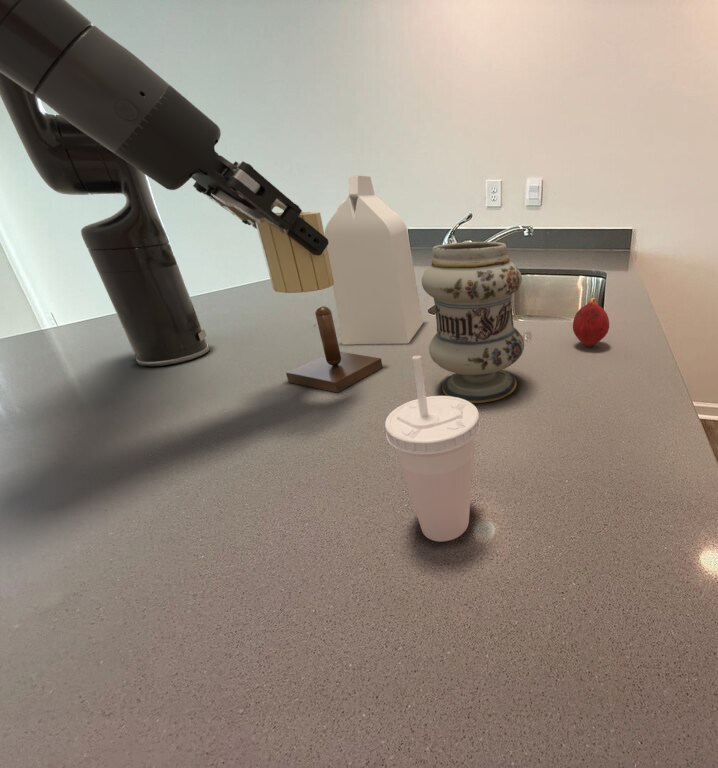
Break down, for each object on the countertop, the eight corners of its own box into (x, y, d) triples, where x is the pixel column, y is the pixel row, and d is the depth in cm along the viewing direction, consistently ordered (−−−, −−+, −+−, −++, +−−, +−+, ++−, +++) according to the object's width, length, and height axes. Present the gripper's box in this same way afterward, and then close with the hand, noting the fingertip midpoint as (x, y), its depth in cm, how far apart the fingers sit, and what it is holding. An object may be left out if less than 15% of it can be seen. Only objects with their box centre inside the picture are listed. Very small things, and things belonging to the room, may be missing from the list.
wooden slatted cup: (261, 290, 46) (239, 214, 43) (306, 279, 52) (291, 211, 48) (301, 295, 44) (282, 215, 41) (345, 283, 49) (331, 211, 46)
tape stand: (288, 382, 56) (268, 312, 52) (337, 359, 64) (323, 296, 60) (337, 392, 53) (320, 318, 49) (382, 367, 61) (371, 301, 56)
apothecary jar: (474, 362, 62) (465, 237, 54) (541, 380, 55) (543, 241, 48) (414, 392, 53) (394, 247, 45) (486, 417, 46) (477, 254, 39)
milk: (408, 343, 70) (385, 174, 59) (342, 344, 70) (306, 175, 59) (423, 322, 81) (405, 176, 70) (365, 323, 81) (339, 178, 70)
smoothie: (409, 498, 34) (384, 342, 28) (485, 492, 35) (476, 338, 29) (396, 559, 29) (361, 380, 23) (487, 552, 29) (476, 374, 23)
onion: (607, 353, 64) (611, 303, 60) (570, 351, 65) (572, 302, 61) (607, 341, 69) (611, 294, 66) (573, 339, 70) (575, 293, 67)
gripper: (182, 64, 30) (357, 223, 43) (149, 94, 39) (303, 218, 52) (119, 142, 29) (318, 281, 42) (101, 155, 38) (270, 266, 51)
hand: (309, 246), depth 47 cm, fingers closed on wooden slatted cup, 6 cm apart
